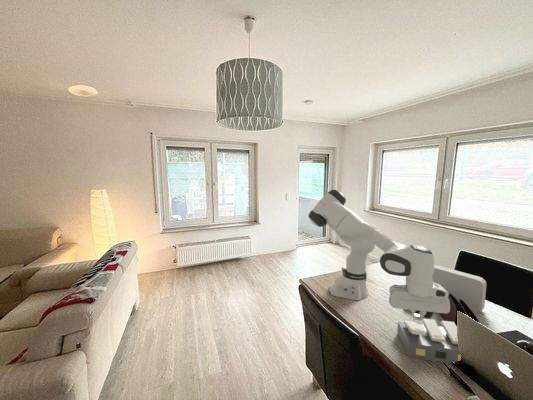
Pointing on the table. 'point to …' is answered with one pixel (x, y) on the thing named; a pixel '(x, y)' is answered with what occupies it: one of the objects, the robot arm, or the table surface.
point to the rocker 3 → (450, 330)
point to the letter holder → (455, 307)
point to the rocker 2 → (433, 330)
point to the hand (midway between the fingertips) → (417, 319)
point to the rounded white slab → (462, 286)
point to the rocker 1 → (414, 328)
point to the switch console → (428, 345)
